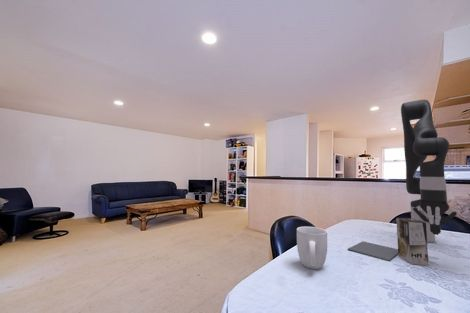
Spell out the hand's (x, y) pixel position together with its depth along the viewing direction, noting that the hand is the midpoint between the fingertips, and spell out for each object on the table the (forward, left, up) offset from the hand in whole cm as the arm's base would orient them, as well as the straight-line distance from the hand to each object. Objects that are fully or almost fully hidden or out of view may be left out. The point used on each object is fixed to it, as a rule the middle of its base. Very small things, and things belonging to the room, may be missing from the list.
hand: (435, 234), depth 82 cm
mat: (0, -21, -12) cm, 24 cm away
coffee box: (0, -7, -12) cm, 14 cm away
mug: (+38, -29, -12) cm, 50 cm away
